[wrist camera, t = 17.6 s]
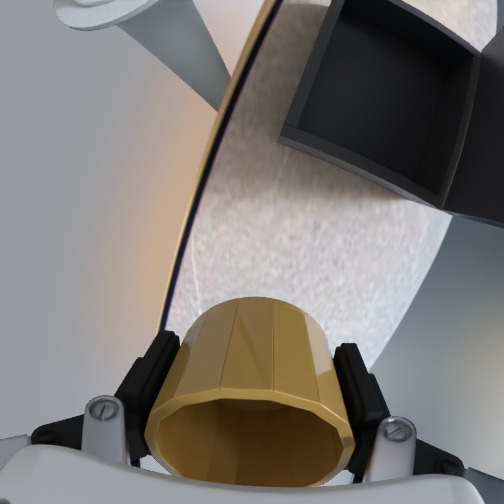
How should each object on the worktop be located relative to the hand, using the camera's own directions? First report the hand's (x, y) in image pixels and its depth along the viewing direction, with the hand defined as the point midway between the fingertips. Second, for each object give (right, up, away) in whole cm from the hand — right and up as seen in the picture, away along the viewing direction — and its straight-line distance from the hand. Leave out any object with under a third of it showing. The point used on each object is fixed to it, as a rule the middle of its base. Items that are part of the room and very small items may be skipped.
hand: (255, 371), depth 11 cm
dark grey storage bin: (+11, +19, +12) cm, 25 cm away
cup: (0, 0, +1) cm, 1 cm away
